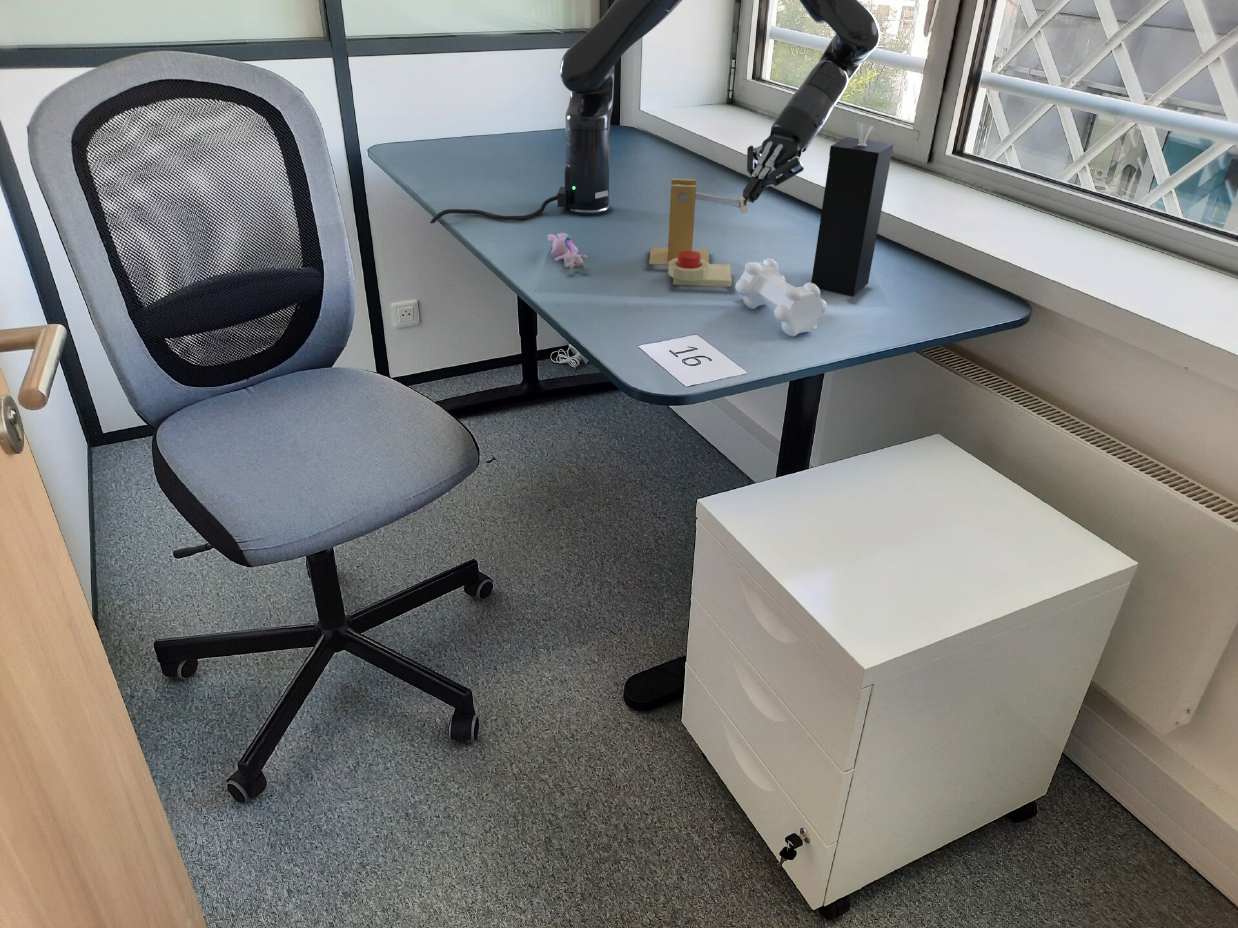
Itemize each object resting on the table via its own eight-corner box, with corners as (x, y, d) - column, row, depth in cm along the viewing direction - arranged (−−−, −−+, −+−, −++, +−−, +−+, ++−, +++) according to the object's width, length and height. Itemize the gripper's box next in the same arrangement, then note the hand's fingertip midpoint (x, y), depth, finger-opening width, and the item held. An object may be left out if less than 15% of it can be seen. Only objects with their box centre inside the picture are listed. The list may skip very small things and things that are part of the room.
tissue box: (852, 302, 149) (882, 131, 134) (809, 292, 153) (833, 124, 138) (867, 288, 155) (898, 122, 140) (825, 279, 159) (850, 116, 143)
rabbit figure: (594, 280, 160) (569, 241, 170) (596, 250, 156) (570, 212, 166) (561, 283, 158) (538, 244, 168) (562, 253, 154) (538, 215, 164)
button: (677, 269, 151) (677, 258, 150) (677, 261, 154) (677, 250, 153) (700, 270, 151) (701, 259, 150) (699, 262, 154) (700, 251, 153)
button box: (667, 292, 152) (668, 270, 150) (668, 273, 159) (669, 252, 157) (730, 294, 151) (733, 272, 149) (728, 276, 159) (730, 254, 157)
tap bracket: (707, 255, 168) (713, 177, 160) (709, 272, 160) (715, 190, 152) (650, 253, 168) (653, 175, 160) (648, 270, 161) (652, 188, 153)
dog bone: (826, 333, 139) (834, 284, 134) (780, 342, 136) (786, 292, 131) (774, 299, 150) (779, 253, 146) (730, 307, 147) (734, 260, 143)
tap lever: (744, 207, 161) (747, 194, 160) (746, 216, 156) (749, 203, 155) (674, 193, 160) (677, 180, 159) (673, 202, 155) (676, 189, 154)
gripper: (766, 99, 159) (712, 179, 159) (822, 111, 150) (764, 195, 150) (784, 126, 164) (731, 203, 165) (838, 139, 155) (783, 220, 156)
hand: (747, 199), depth 158 cm, fingers closed
